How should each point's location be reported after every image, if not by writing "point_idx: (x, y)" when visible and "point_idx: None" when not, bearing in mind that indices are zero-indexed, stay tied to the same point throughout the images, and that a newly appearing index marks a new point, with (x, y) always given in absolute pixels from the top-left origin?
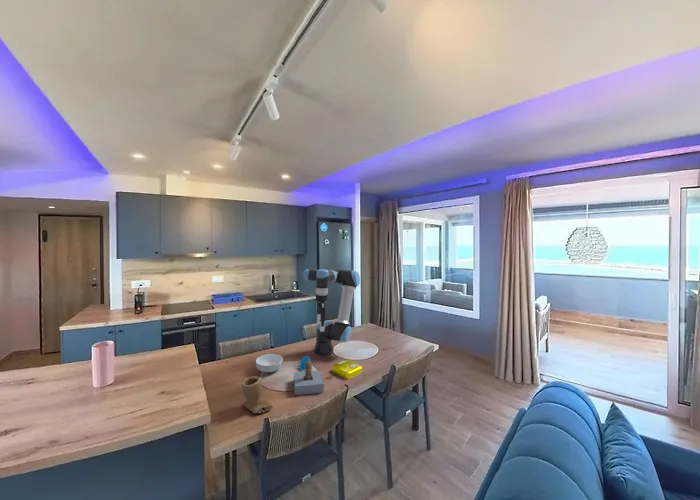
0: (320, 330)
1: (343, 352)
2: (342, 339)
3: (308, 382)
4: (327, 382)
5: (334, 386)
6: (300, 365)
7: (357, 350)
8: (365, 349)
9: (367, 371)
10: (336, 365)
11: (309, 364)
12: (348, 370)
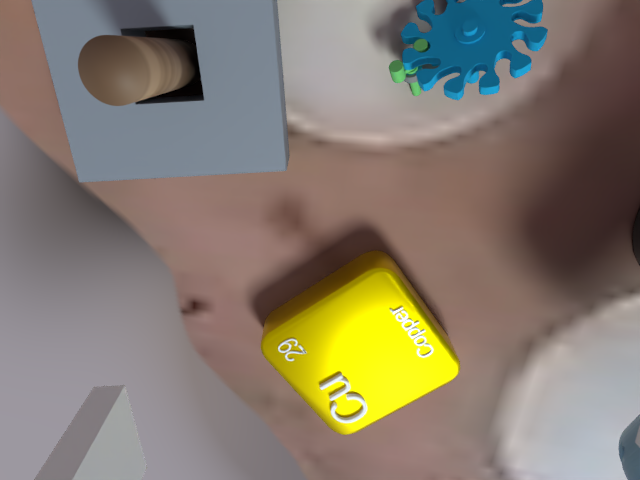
0: (87, 413)
1: (637, 352)
2: (633, 436)
3: None
4: (229, 202)
5: (179, 240)
6: (467, 2)
7: None
8: None
9: None
10: (376, 293)
11: (81, 78)
12: (293, 355)
